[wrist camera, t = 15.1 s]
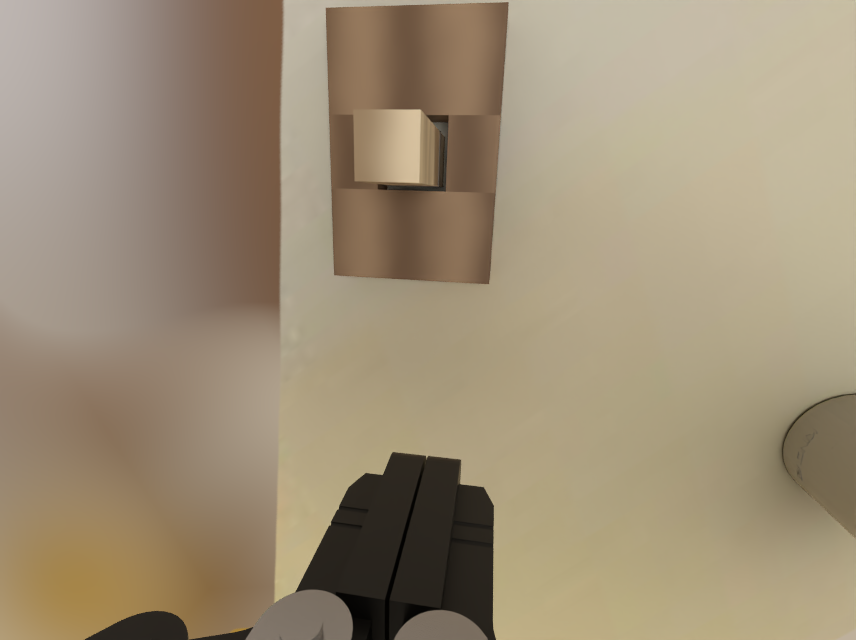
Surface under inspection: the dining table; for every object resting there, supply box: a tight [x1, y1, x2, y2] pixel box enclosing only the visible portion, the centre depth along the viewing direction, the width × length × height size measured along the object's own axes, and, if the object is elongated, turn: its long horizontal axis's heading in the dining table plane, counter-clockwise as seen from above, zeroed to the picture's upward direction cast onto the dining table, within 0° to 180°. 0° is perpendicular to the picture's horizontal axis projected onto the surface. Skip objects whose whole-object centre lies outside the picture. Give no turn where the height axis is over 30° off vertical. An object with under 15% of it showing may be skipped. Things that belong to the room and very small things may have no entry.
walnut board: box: [326, 2, 509, 284], centre depth 32 cm, size 12×18×3 cm, turn 178°
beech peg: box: [353, 109, 445, 187], centre depth 28 cm, size 4×4×11 cm
